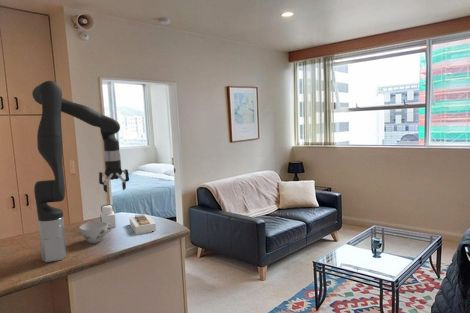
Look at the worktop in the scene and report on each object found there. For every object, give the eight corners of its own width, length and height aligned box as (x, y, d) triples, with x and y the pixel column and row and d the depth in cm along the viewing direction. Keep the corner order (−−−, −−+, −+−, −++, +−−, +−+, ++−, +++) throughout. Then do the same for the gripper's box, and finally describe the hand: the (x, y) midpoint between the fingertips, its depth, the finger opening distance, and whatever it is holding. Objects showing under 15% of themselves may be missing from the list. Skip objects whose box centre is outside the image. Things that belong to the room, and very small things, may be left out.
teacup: (86, 248, 151) (84, 231, 150) (76, 241, 160) (75, 225, 159) (118, 239, 161) (117, 223, 160) (107, 233, 170) (106, 218, 169)
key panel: (155, 231, 172) (155, 223, 171) (136, 234, 167) (135, 226, 167) (148, 221, 189) (147, 214, 188) (129, 224, 184) (129, 217, 184)
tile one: (149, 226, 171) (149, 221, 171) (141, 227, 169) (140, 222, 169) (147, 223, 175) (147, 219, 175) (139, 225, 173) (139, 220, 173)
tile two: (147, 223, 177) (146, 218, 176) (138, 224, 175) (138, 219, 174) (145, 221, 181) (145, 216, 180) (137, 222, 179) (136, 217, 178)
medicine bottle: (101, 225, 183) (99, 204, 182) (114, 223, 186) (113, 202, 185) (101, 229, 177) (100, 207, 175) (115, 227, 180) (114, 205, 178)
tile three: (144, 220, 182) (144, 215, 182) (136, 221, 180) (136, 216, 180) (143, 218, 186) (143, 213, 186) (135, 219, 184) (134, 214, 184)
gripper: (98, 161, 160) (101, 194, 163) (128, 158, 167) (130, 190, 169) (96, 160, 167) (99, 191, 169) (125, 157, 174) (127, 187, 176)
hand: (115, 190), depth 169 cm, fingers open, 8 cm apart
